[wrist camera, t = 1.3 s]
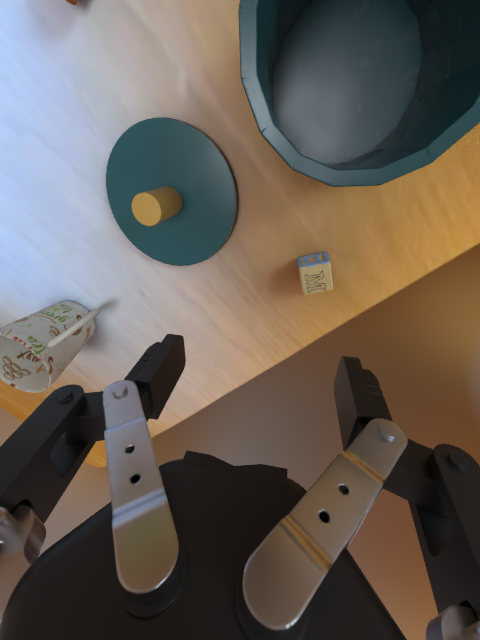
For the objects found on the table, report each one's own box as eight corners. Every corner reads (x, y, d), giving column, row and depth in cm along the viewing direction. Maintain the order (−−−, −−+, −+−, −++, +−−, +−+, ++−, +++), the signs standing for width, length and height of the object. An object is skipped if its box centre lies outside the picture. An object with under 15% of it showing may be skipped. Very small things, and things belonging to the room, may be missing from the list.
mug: (37, 308, 39) (-35, 351, 30) (90, 266, 34) (21, 304, 25) (80, 350, 42) (26, 400, 33) (135, 318, 37) (88, 367, 28)
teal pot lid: (119, 93, 24) (69, 77, 19) (258, 153, 24) (248, 153, 19) (108, 235, 31) (70, 251, 26) (216, 279, 32) (200, 304, 26)
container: (306, -68, 18) (319, -336, 8) (473, 9, 18) (675, -155, 8) (243, 141, 24) (208, 133, 14) (367, 194, 25) (412, 221, 15)
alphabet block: (327, 250, 28) (330, 260, 25) (330, 279, 29) (333, 291, 27) (297, 257, 29) (297, 267, 26) (301, 284, 30) (302, 296, 27)
